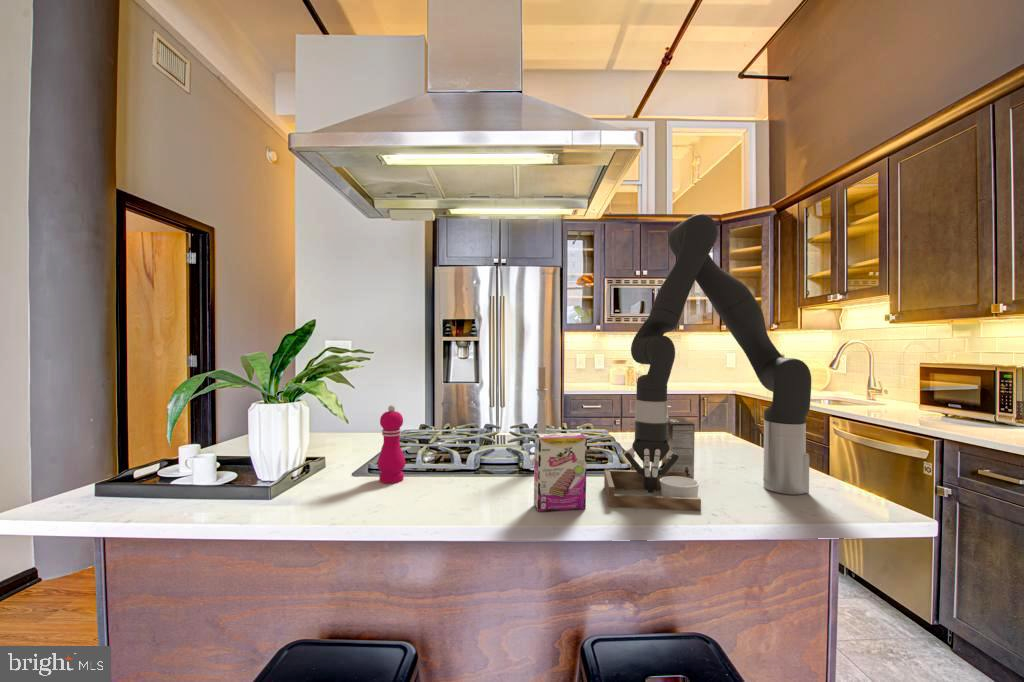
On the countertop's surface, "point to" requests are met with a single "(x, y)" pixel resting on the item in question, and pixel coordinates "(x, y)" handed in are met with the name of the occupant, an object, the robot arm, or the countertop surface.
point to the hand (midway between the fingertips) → (650, 491)
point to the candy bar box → (560, 471)
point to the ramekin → (679, 486)
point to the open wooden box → (636, 482)
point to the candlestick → (541, 407)
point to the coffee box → (681, 445)
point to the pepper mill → (391, 448)
